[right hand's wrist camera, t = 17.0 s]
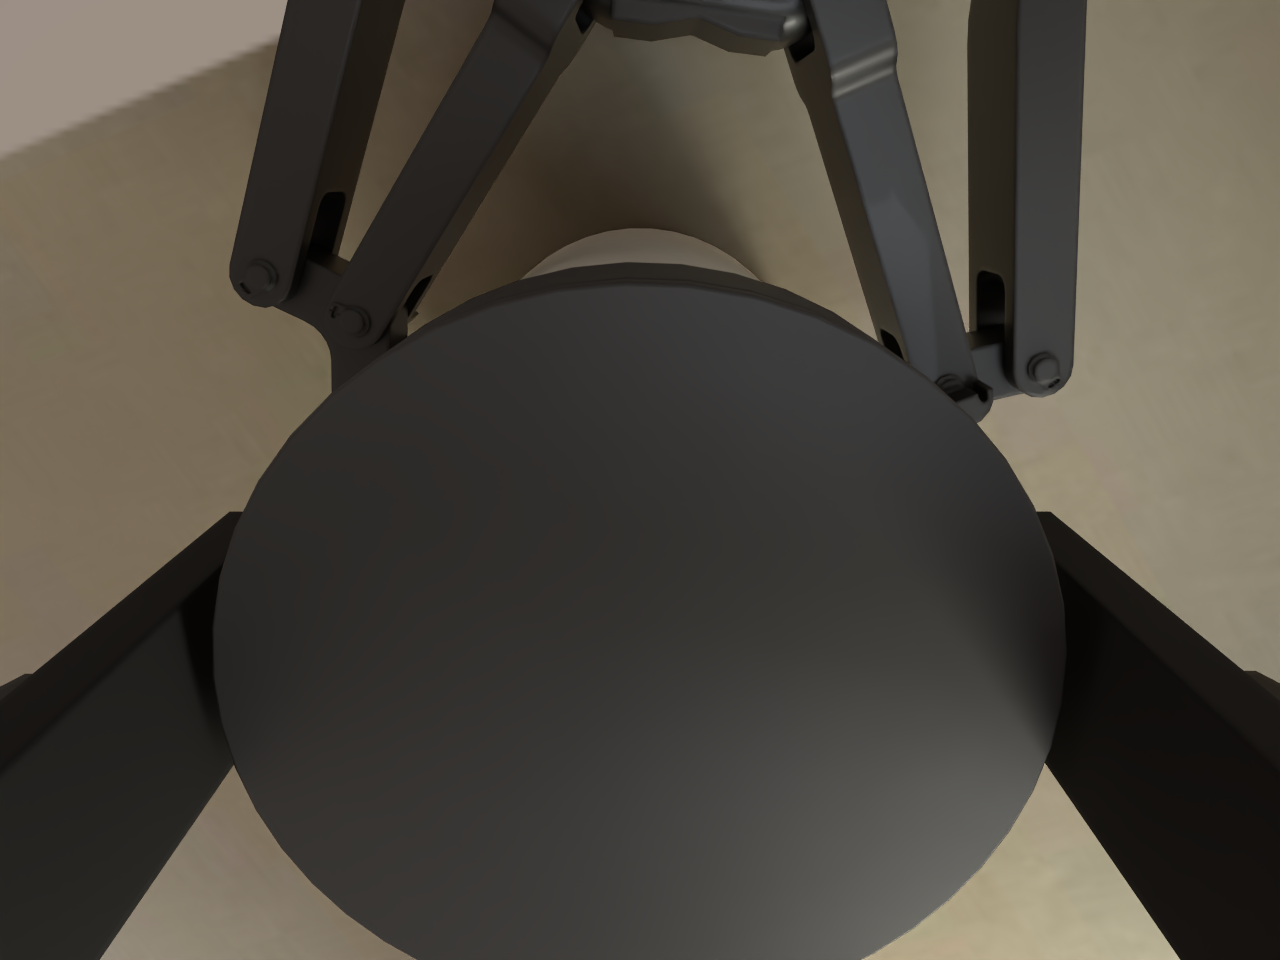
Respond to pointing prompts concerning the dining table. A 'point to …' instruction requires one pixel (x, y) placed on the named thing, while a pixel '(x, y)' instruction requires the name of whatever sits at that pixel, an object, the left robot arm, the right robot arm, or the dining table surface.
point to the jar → (639, 252)
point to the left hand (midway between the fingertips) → (618, 632)
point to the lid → (639, 631)
